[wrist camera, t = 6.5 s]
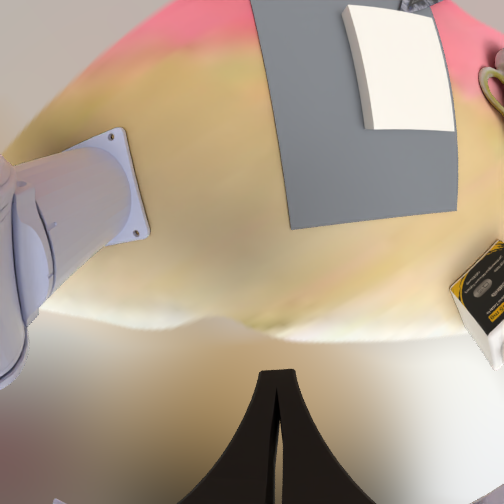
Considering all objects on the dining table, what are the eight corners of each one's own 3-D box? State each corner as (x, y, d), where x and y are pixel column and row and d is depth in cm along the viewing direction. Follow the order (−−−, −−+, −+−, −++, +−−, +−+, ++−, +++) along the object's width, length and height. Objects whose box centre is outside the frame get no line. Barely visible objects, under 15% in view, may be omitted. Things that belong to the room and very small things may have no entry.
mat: (290, 228, 18) (291, 230, 18) (249, -3, 11) (249, -4, 11) (454, 209, 16) (456, 210, 16) (428, 7, 10) (430, 6, 9)
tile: (374, 129, 13) (454, 131, 12) (347, 4, 10) (432, 18, 9) (364, 129, 14) (440, 129, 14) (340, 14, 11) (420, 24, 10)
